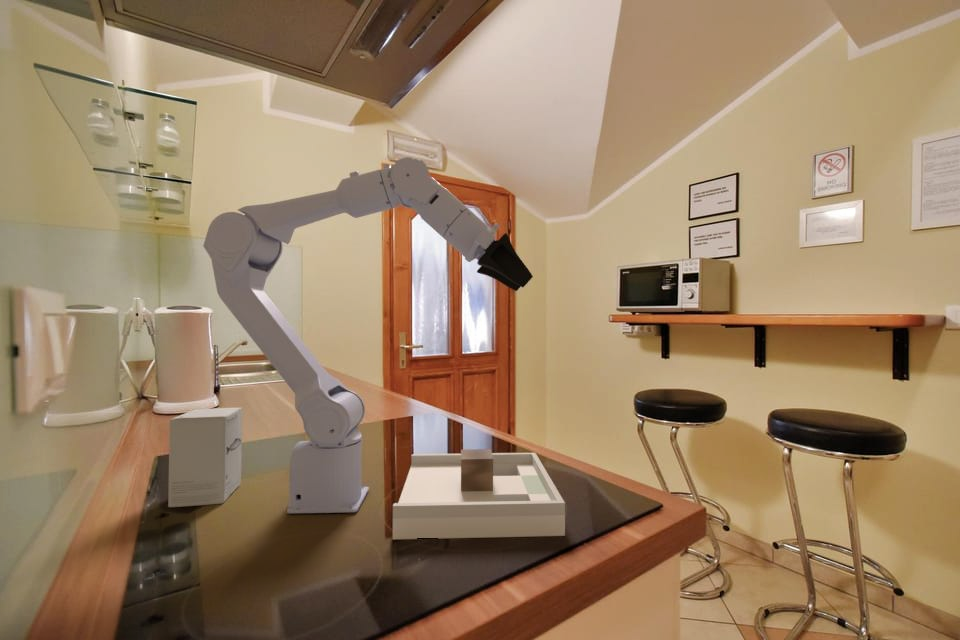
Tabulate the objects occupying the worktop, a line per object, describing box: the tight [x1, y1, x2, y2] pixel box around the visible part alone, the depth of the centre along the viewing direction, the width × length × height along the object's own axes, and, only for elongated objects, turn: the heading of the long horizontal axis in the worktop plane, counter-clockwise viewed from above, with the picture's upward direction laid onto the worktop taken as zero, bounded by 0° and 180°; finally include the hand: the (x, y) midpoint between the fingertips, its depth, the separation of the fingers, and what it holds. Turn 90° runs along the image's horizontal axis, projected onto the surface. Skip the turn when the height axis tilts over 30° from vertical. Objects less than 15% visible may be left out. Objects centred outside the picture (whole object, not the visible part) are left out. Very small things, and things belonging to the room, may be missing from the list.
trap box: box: [392, 452, 566, 540], centre depth 60 cm, size 21×20×4 cm
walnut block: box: [460, 448, 493, 492], centre depth 60 cm, size 4×4×4 cm
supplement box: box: [167, 407, 243, 508], centre depth 62 cm, size 7×7×13 cm
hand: (524, 284), depth 62 cm, fingers open, 7 cm apart
